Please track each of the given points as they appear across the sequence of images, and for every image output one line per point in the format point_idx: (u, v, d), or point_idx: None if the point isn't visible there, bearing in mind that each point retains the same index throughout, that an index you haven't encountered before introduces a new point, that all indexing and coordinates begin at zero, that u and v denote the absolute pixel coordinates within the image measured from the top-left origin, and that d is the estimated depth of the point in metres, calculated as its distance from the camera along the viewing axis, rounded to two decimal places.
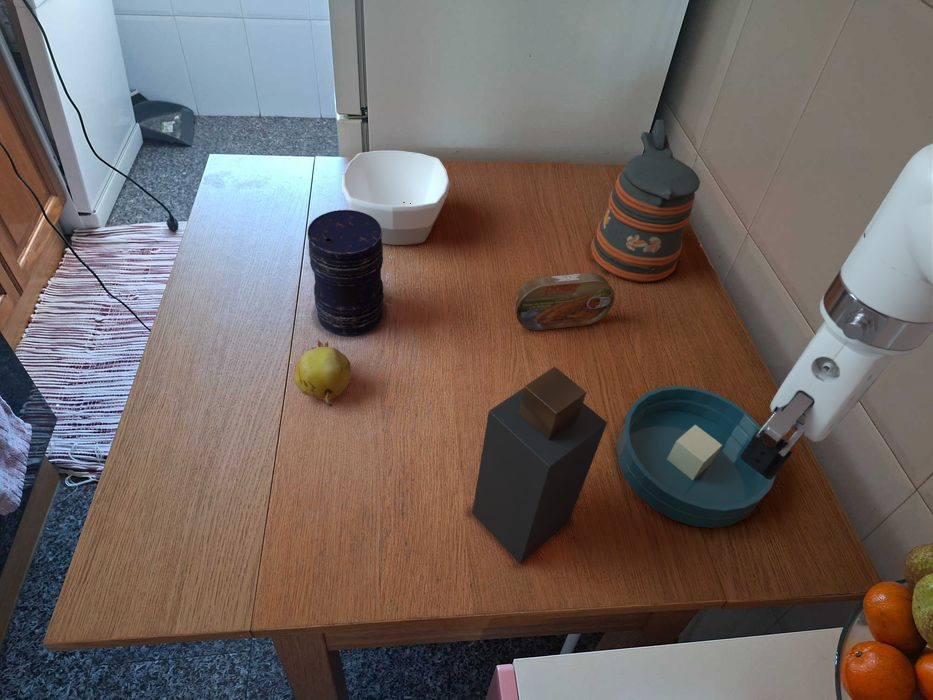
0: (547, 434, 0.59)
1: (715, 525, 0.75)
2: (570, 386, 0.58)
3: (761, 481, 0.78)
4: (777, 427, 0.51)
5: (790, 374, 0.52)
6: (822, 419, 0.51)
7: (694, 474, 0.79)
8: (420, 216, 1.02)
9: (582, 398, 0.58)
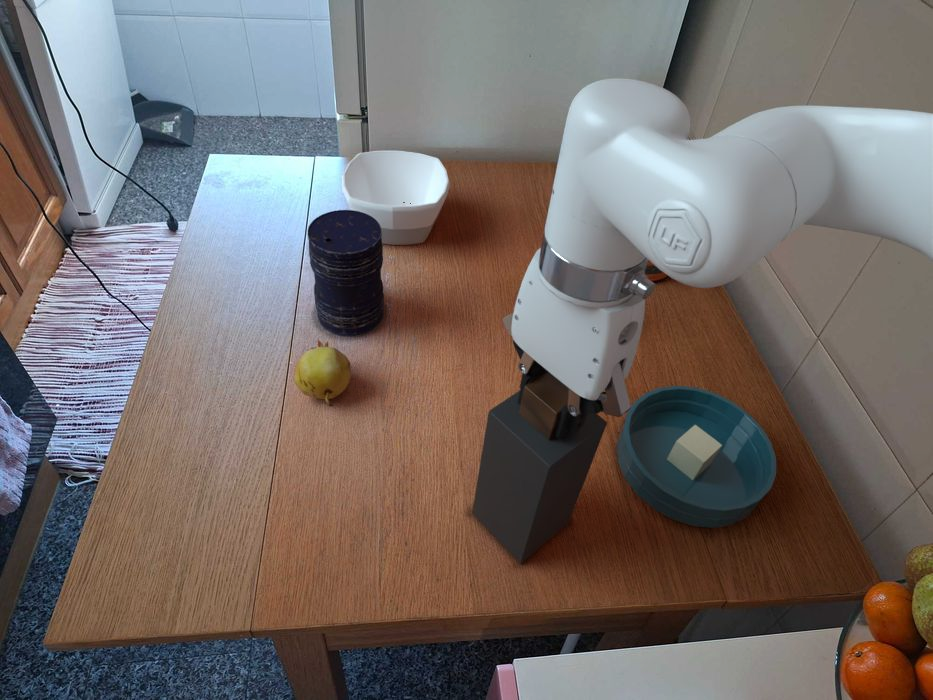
0: (547, 434, 0.59)
1: (715, 525, 0.75)
2: None
3: (761, 481, 0.78)
4: (624, 405, 0.52)
5: (602, 365, 0.49)
6: (632, 360, 0.52)
7: (694, 474, 0.79)
8: (420, 216, 1.02)
9: None
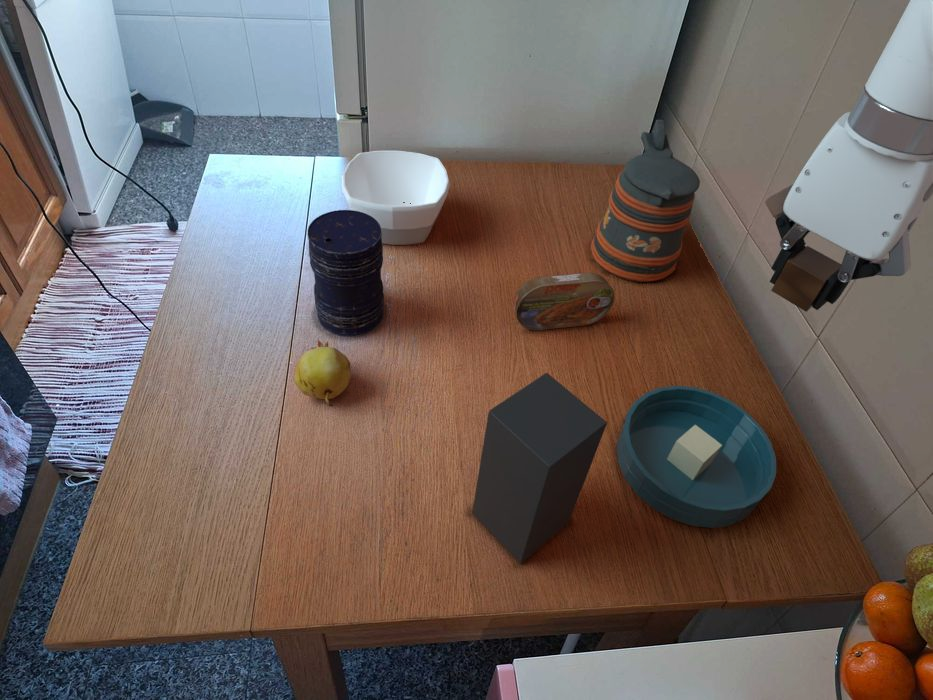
0: (806, 305, 0.64)
1: (715, 525, 0.75)
2: (828, 261, 0.64)
3: (761, 481, 0.78)
4: (907, 264, 0.57)
5: (903, 220, 0.54)
6: (914, 223, 0.57)
7: (694, 474, 0.79)
8: (420, 216, 1.02)
9: None
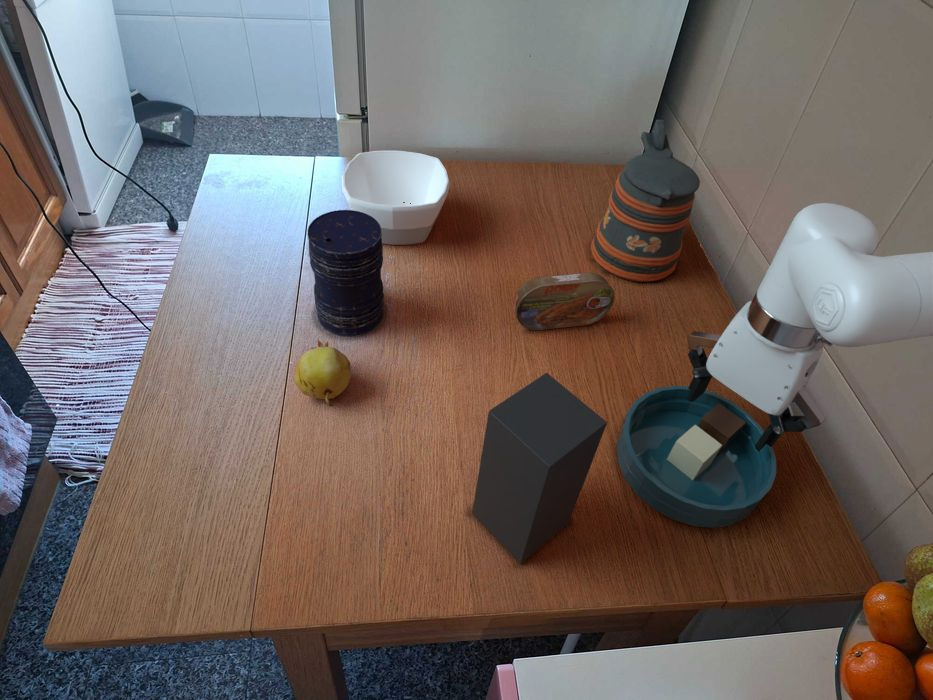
0: None
1: (715, 525, 0.75)
2: (734, 418, 0.82)
3: (761, 481, 0.78)
4: (820, 415, 0.70)
5: (791, 390, 0.69)
6: (805, 386, 0.72)
7: (694, 474, 0.79)
8: (420, 216, 1.02)
9: (742, 426, 0.81)
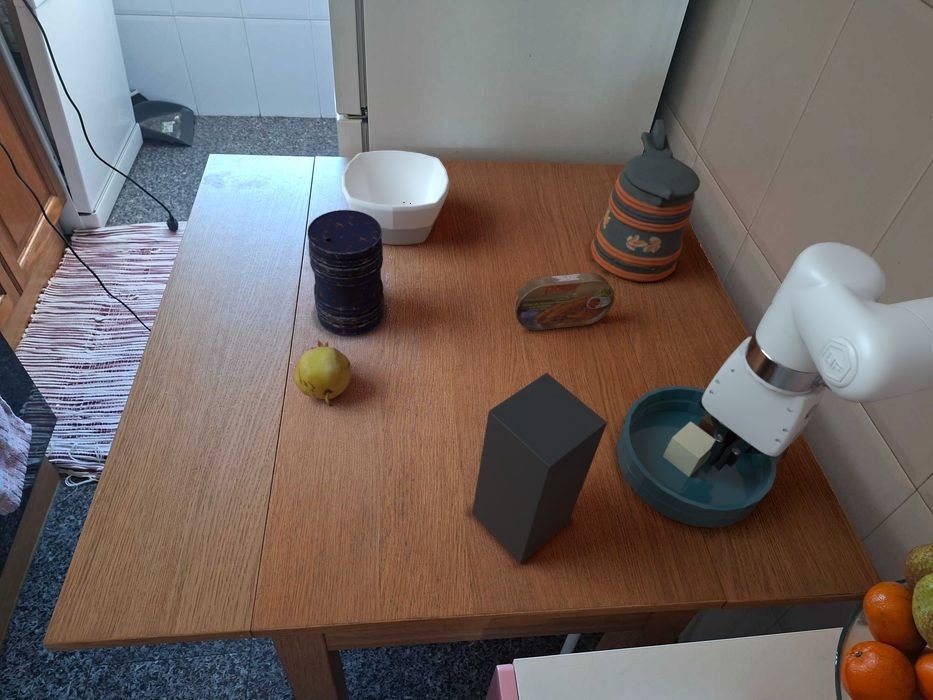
0: None
1: (715, 525, 0.75)
2: None
3: (761, 481, 0.78)
4: (783, 456, 0.70)
5: (790, 433, 0.66)
6: None
7: (690, 471, 0.79)
8: (420, 216, 1.02)
9: None
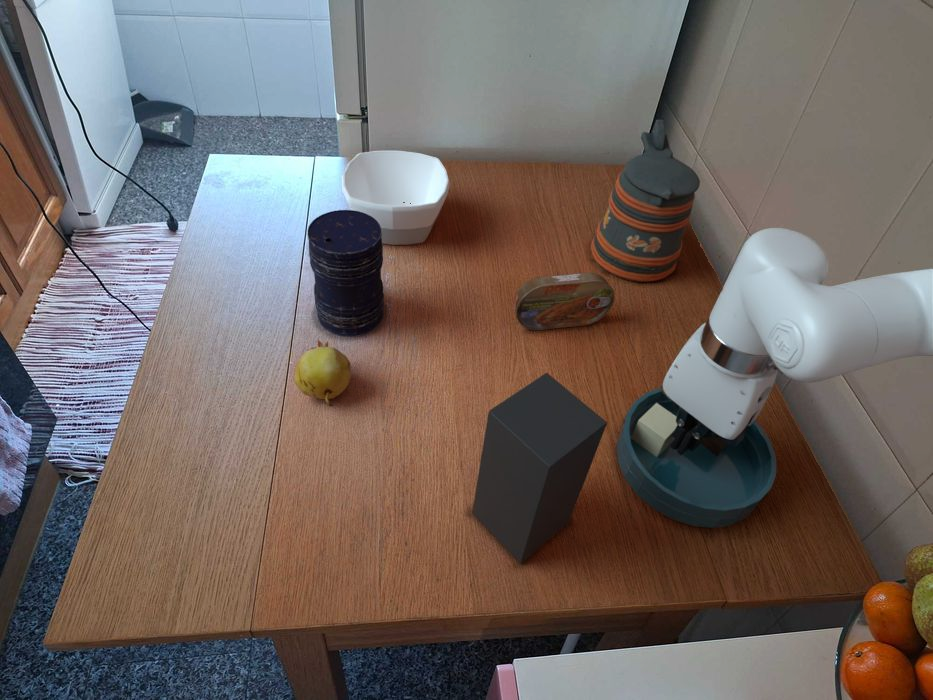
0: (717, 452, 0.82)
1: (715, 525, 0.75)
2: None
3: (761, 481, 0.78)
4: (740, 440, 0.72)
5: (744, 416, 0.68)
6: None
7: (657, 451, 0.81)
8: (420, 216, 1.02)
9: None
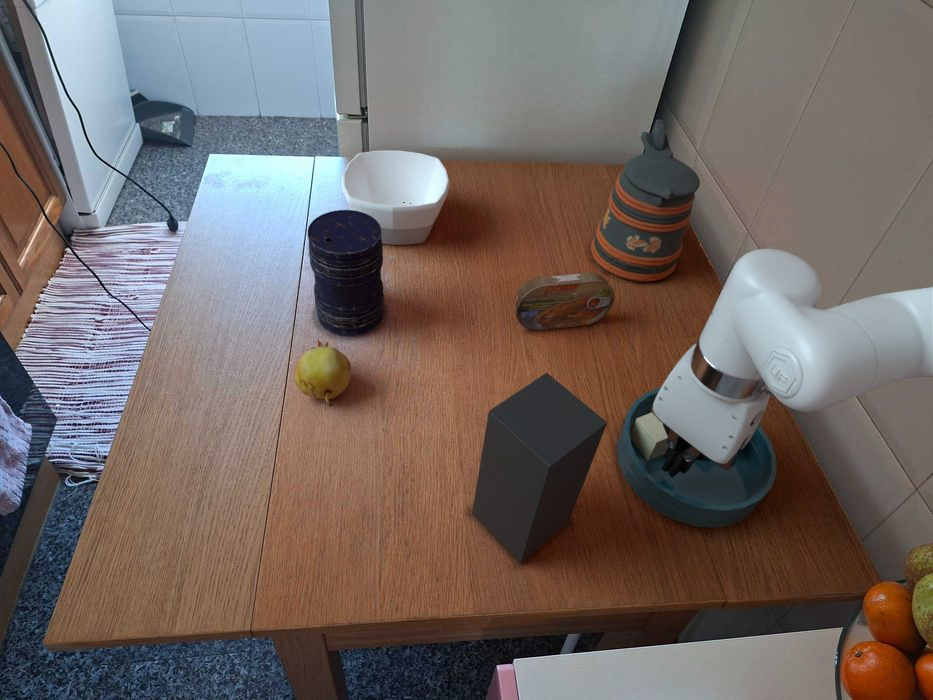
0: None
1: (715, 525, 0.75)
2: None
3: (761, 481, 0.78)
4: (732, 463, 0.70)
5: (736, 440, 0.66)
6: None
7: (649, 454, 0.80)
8: (420, 216, 1.02)
9: None
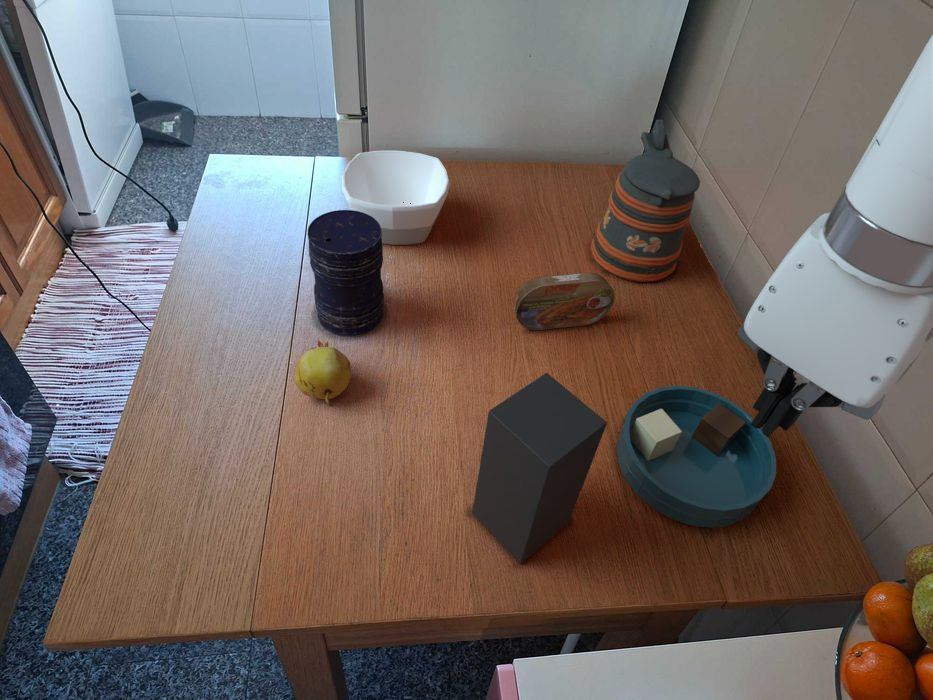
0: (717, 452, 0.82)
1: (715, 525, 0.75)
2: (734, 418, 0.82)
3: (761, 481, 0.78)
4: (877, 409, 0.44)
5: (899, 365, 0.40)
6: None
7: (649, 454, 0.80)
8: (420, 216, 1.02)
9: (742, 426, 0.81)
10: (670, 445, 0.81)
